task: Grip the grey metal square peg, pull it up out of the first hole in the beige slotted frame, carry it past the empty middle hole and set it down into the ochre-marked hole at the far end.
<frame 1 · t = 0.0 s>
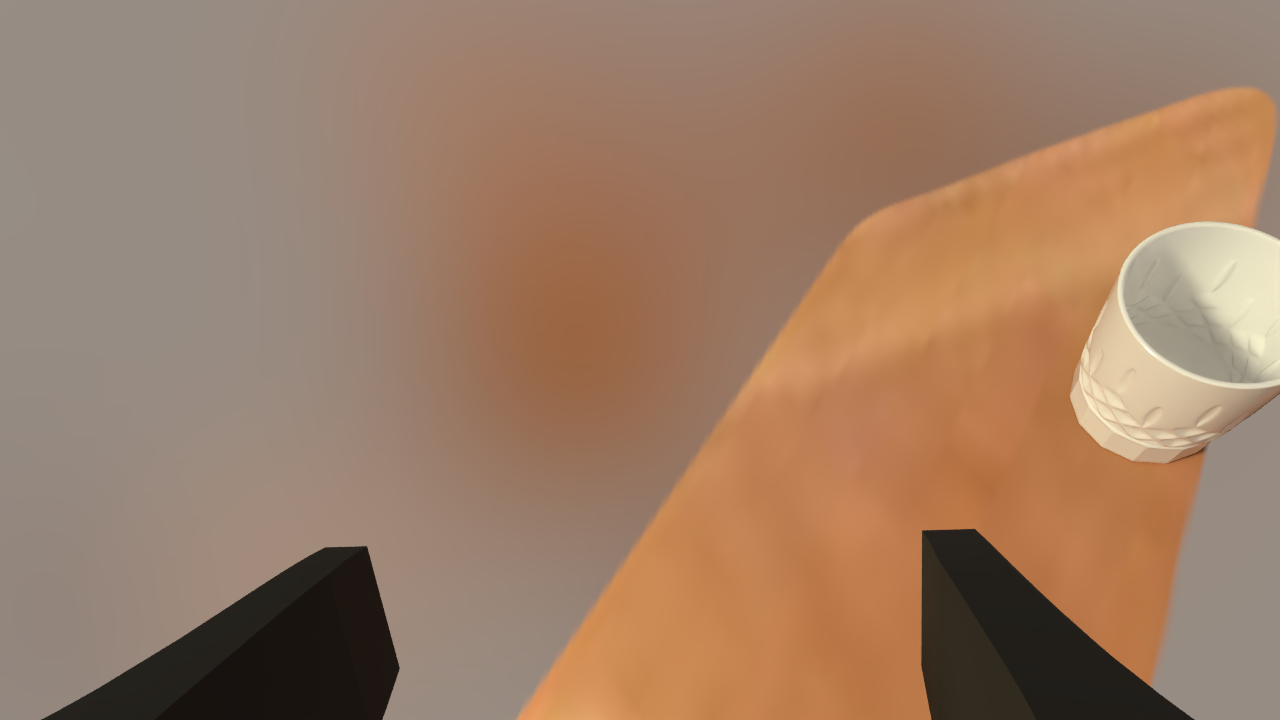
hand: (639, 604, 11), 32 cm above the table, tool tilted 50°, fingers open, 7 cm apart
white cup: (1139, 403, 44), on the table
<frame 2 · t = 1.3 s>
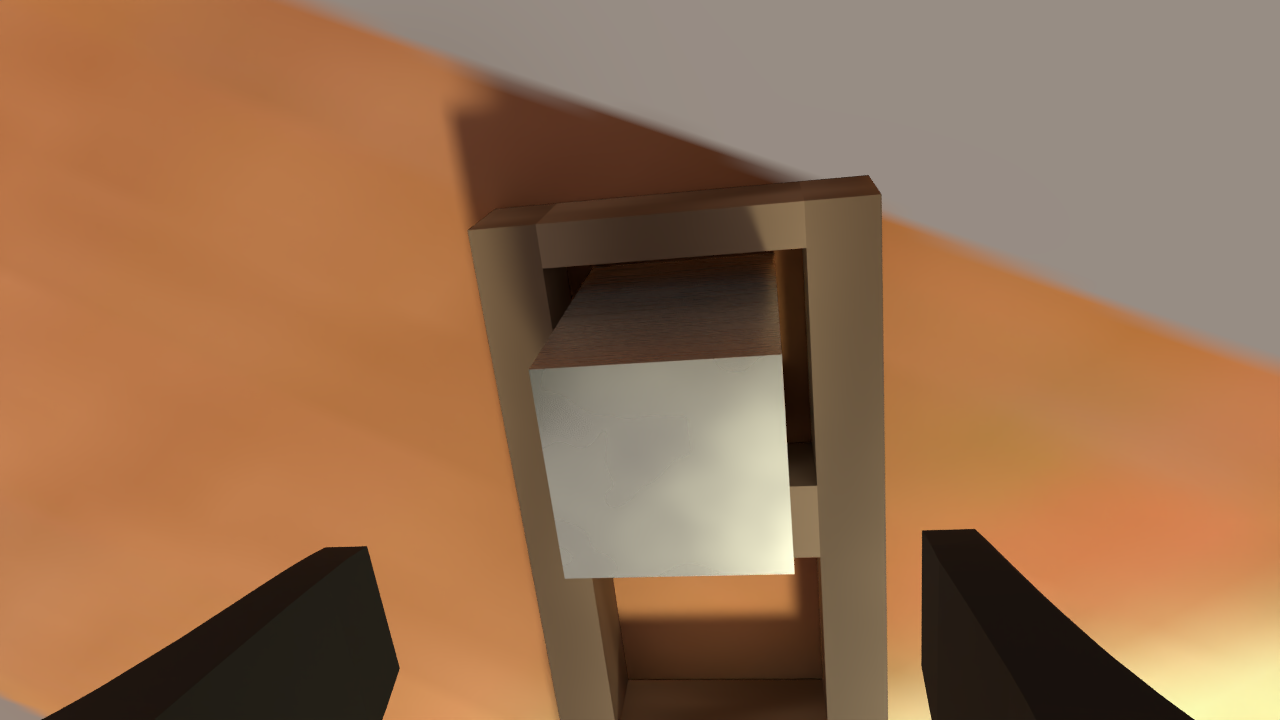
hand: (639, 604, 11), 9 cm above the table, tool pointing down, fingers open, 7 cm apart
metal peg: (690, 344, 20), resting in beige slotted frame
beige slotted frame: (715, 599, 22), on the table
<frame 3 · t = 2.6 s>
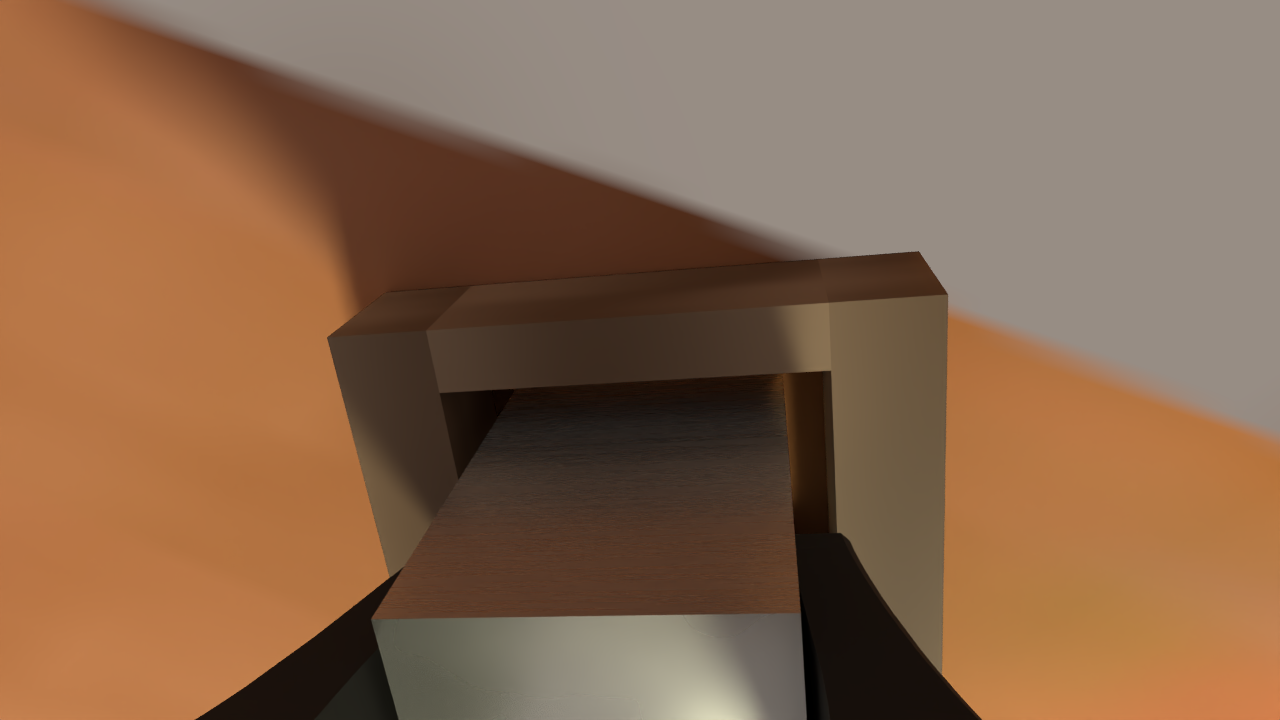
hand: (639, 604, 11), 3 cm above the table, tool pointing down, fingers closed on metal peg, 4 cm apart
metal peg: (663, 478, 14), resting in beige slotted frame, touching gripper
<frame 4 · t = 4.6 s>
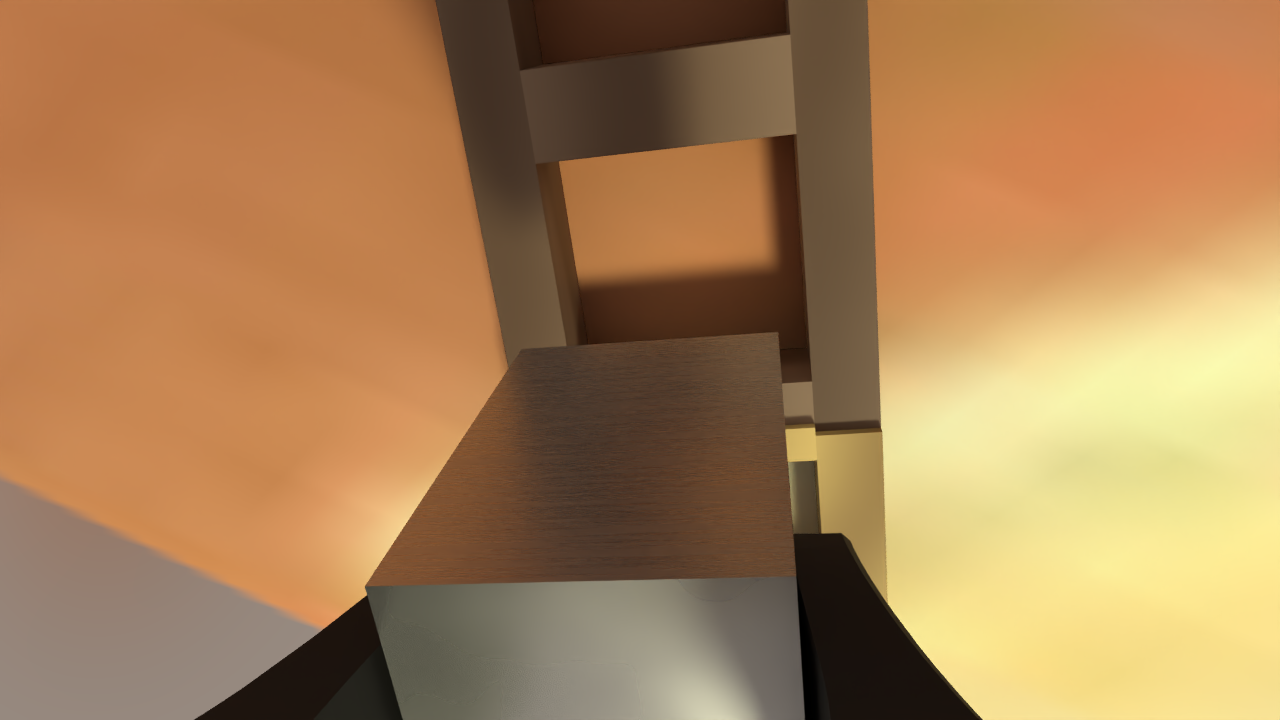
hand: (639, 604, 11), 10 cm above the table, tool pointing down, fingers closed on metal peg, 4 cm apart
metal peg: (660, 455, 14), point 7 cm above the table, touching gripper
beige slotted frame: (684, 250, 20), on the table
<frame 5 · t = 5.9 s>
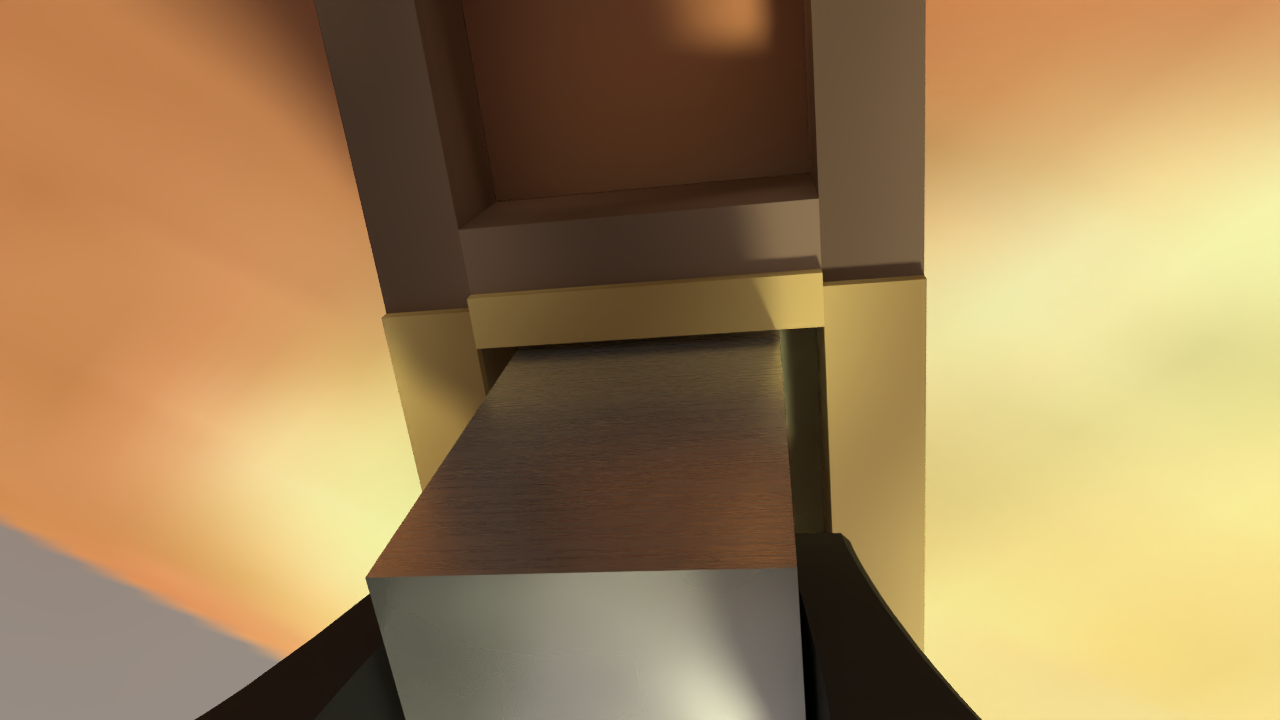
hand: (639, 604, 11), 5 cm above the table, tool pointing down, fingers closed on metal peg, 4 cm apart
metal peg: (661, 449, 14), point 2 cm above the table, touching gripper
beige slotted frame: (629, 17, 13), on the table
when the fingers open (4 cm above the table, at t = 6.9 s): metal peg stays where it is, resting in beige slotted frame.
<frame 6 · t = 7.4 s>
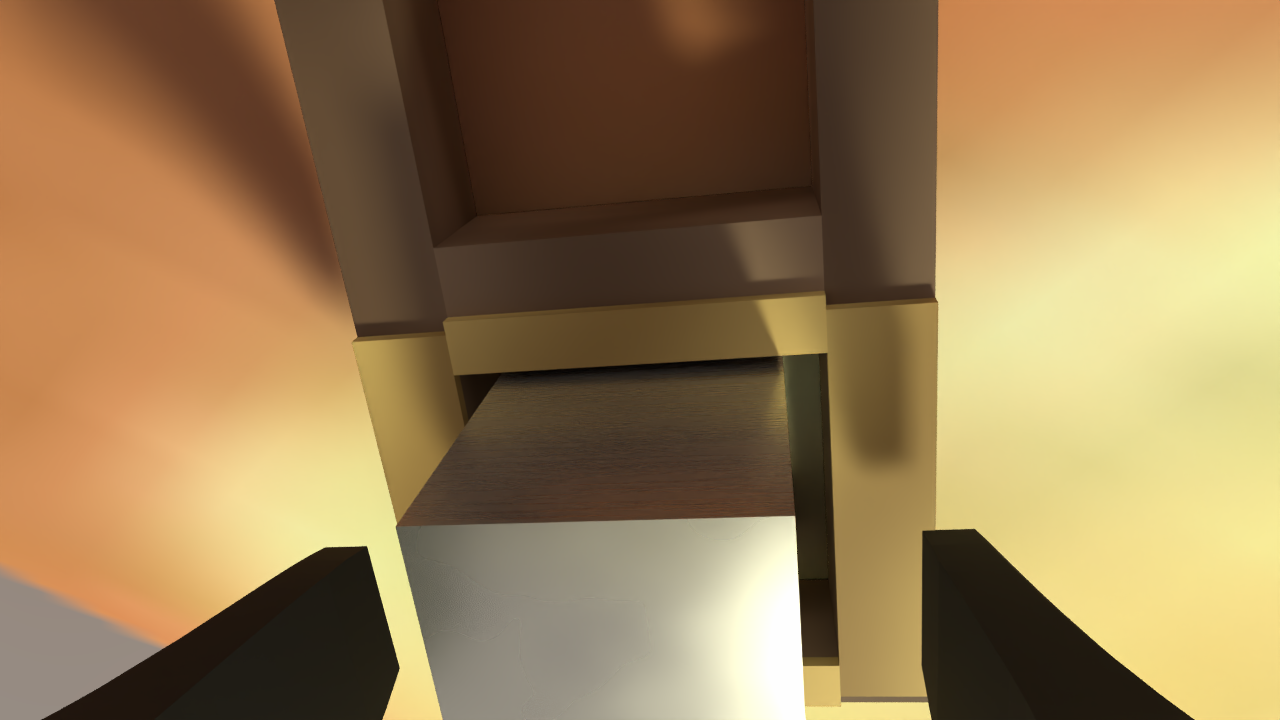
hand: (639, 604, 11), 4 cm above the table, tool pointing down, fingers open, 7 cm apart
metal peg: (665, 429, 15), resting in beige slotted frame
beige slotted frame: (618, 20, 12), on the table
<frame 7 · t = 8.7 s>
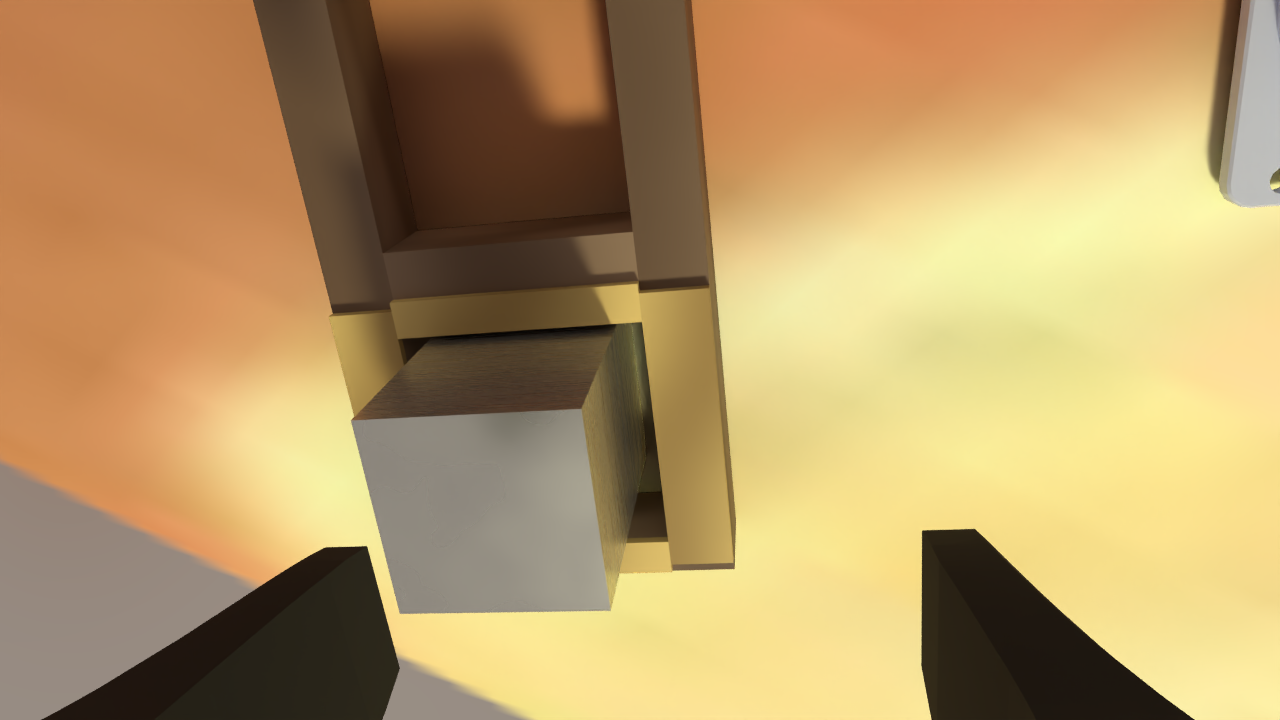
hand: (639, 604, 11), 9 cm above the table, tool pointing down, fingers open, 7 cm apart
metal peg: (555, 382, 21), resting in beige slotted frame
beige slotted frame: (508, 99, 18), on the table
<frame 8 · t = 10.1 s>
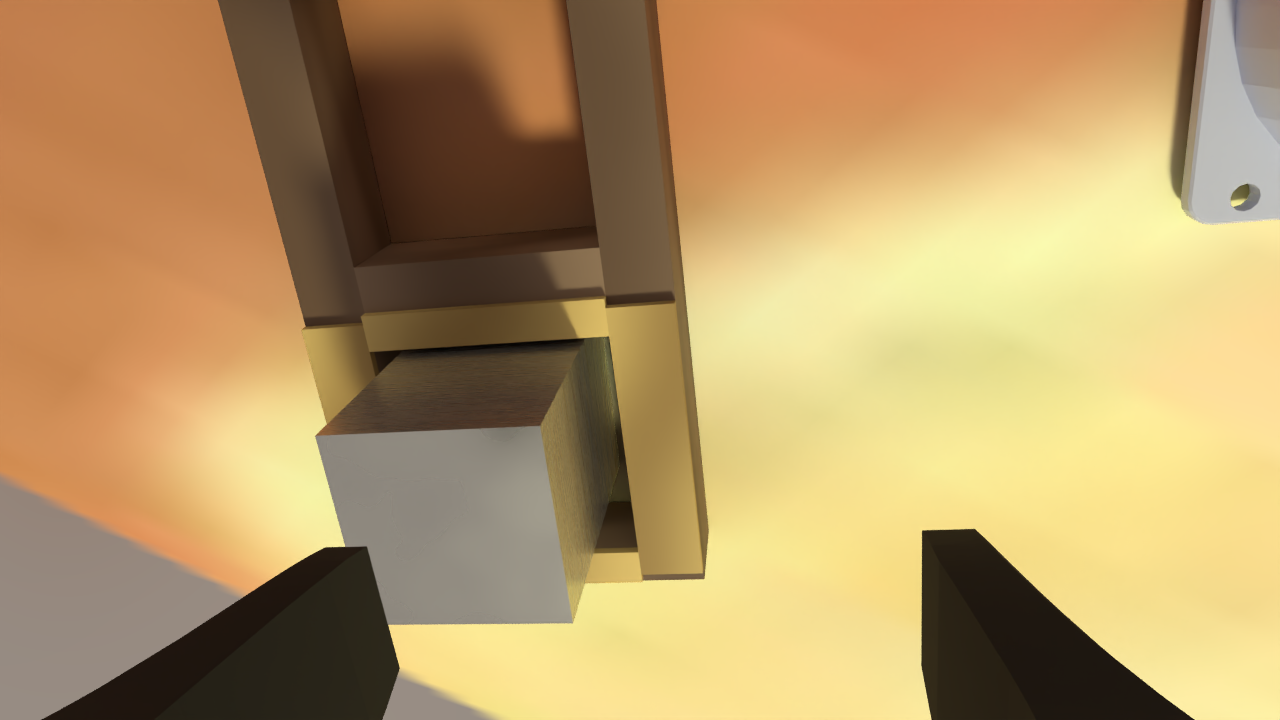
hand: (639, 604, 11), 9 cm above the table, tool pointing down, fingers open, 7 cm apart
metal peg: (529, 393, 21), resting in beige slotted frame
beige slotted frame: (479, 114, 18), on the table
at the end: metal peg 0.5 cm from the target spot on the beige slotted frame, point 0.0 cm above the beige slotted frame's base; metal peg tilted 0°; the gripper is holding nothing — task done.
